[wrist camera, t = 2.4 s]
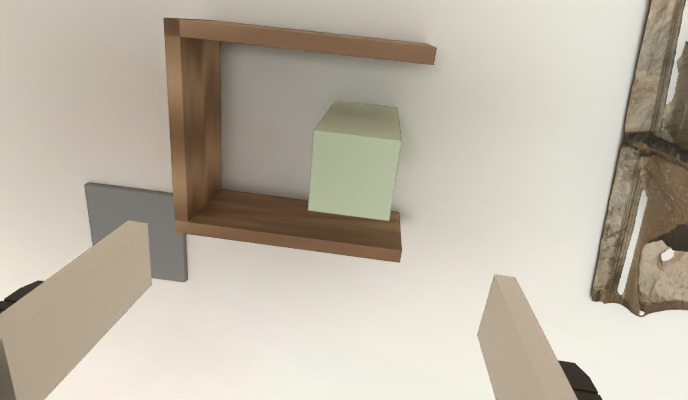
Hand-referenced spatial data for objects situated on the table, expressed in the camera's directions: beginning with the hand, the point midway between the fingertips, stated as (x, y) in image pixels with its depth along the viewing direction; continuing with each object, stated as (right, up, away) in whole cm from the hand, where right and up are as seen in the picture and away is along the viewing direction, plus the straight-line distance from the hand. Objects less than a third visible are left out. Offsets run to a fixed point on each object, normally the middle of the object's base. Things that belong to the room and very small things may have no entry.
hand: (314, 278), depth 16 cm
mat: (-18, 0, +25) cm, 31 cm away
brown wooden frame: (-2, +9, +19) cm, 21 cm away
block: (+3, +8, +19) cm, 21 cm away
